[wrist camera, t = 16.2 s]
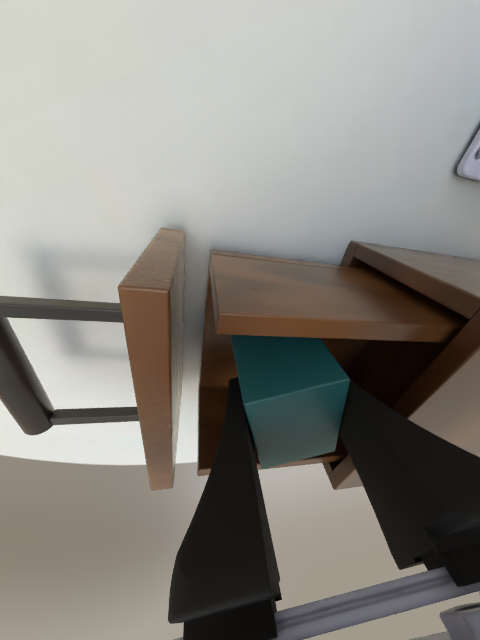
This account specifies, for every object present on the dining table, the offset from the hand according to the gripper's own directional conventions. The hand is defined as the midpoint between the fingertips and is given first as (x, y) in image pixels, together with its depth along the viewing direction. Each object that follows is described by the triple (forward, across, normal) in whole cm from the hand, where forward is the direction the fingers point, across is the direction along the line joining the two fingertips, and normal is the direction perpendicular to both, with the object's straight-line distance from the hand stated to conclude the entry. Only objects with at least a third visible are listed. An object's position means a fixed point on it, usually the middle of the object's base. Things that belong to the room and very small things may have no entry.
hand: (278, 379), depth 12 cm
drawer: (+4, +2, -1) cm, 5 cm away
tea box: (+1, 0, 0) cm, 1 cm away
